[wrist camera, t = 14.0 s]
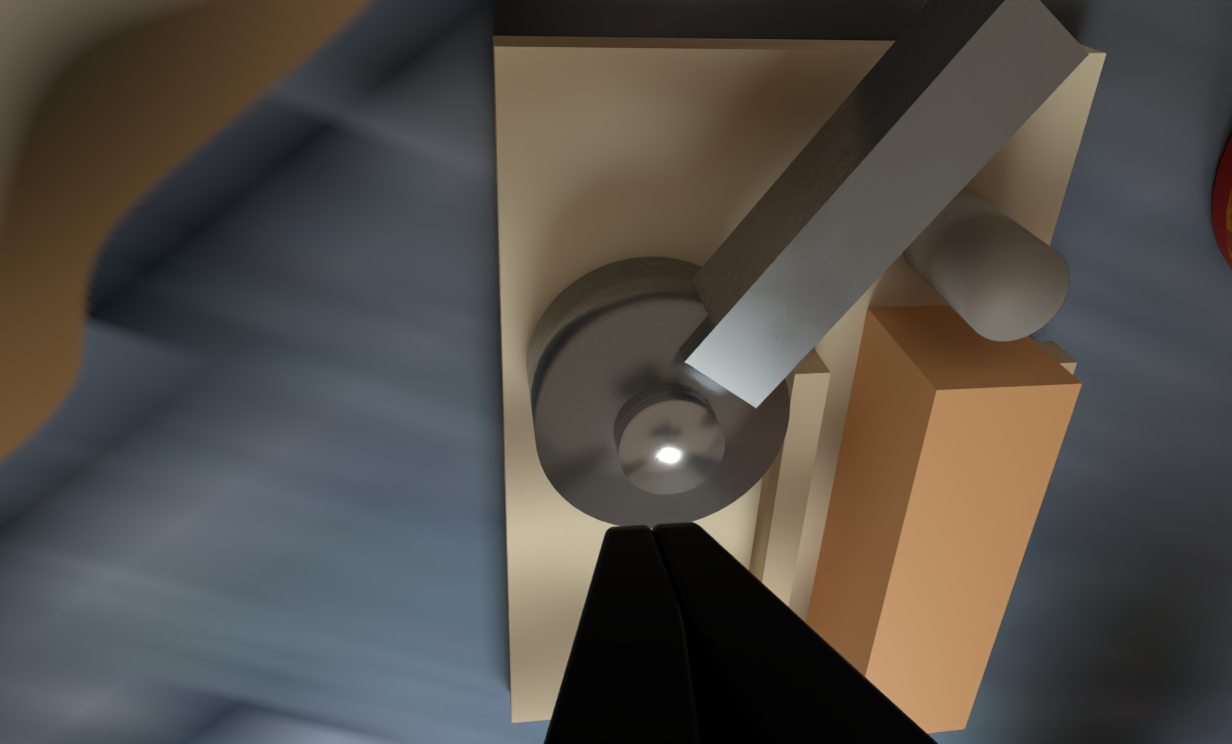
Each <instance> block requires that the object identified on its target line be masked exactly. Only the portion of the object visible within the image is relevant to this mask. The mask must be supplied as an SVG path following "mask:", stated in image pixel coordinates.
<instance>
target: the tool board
mask: <svg viewBox="0 0 1232 744" xmlns="http://www.w3.org/2000/svg"><path fill="white" fill-rule="evenodd" d="M894 42H895V41H868V40H791V39H714V38H637V37H560V36H493V66H494V104H495V141H496V179H497V216H498V254H499V292H500V329H501V367H502V404H503V442H504V479H505V517H506V555H507V592H508V630H509V667H510V699H511V716H512V723H517V722H528V721H539V720H550V719H551V717H552V713H553V710H554V707H555V703H556V700H557V696H558V693H559V689H560V686H561V683H562V679H563V676H564V672H565V669H566V665H567V662H568V659H569V655H570V652H571V648H572V645H573V641H574V638H575V635H576V631H577V628H578V624H579V621H580V617H581V614H582V610H583V607H584V604H585V600H586V597H587V593H588V590H589V586H590V583H591V580H592V576H593V573H594V569H595V566H596V562H597V559H598V555H599V552H600V549H601V545H602V542H603V538H604V535H605V532H606V531H607V529H609V528H610V527H615V526H618V525H613V524H610V523H606V522H603V521H600V520H598V519H595V518H593V517H591V516H589V515H586V514H585V513H583V512H581V511H580V510H578V509H577V508H575V507H573V506H572V505H571V504H570V503H569V502H567V501H566V500H565V499H564V498H563V497H562V496H561V495H560V494H559V493H558V492H557V491H556V490H555V489H554V487H553V486H552V484H551V483H550V481H549V480H548V478H547V477H546V475H545V473H544V471H543V469H542V466H541V464H540V461H539V457H538V454H537V450H536V442H535V434H534V426H533V417H532V409H531V401H530V393H529V385H528V376H527V356H528V351H529V346H530V342H531V339H532V336H533V333H534V330H535V328H536V326H537V324H538V322H539V320H540V318H541V317H542V315H543V314H544V312H545V311H546V309H547V308H548V307H549V305H550V304H551V303H552V302H553V301H554V300H555V298H556V297H557V296H558V295H559V294H560V293H561V292H562V291H563V290H565V289H566V288H567V287H568V286H569V285H570V284H572V283H573V282H575V281H576V280H578V279H579V278H581V277H582V276H584V275H585V274H587V273H589V272H591V271H593V270H595V269H597V268H599V267H602V266H605V265H607V264H610V263H613V262H616V261H621V260H625V259H629V258H638V257H667V258H674V259H679V260H683V261H686V262H690V263H693V264H695V265H698V266H700V267H703V266H704V264H705V263H706V262H707V261H708V260H709V259H710V257H711V256H712V255H713V254H714V253H715V252H716V250H717V249H718V248H719V247H720V246H721V245H722V243H723V242H724V241H725V240H726V239H727V238H728V236H729V235H730V234H731V233H732V232H733V230H734V229H735V228H736V227H737V226H738V225H739V223H740V222H741V221H742V220H743V219H744V218H745V216H746V215H747V214H748V213H749V212H750V211H751V209H752V208H753V207H754V206H755V205H756V204H757V202H758V201H759V200H760V199H761V198H762V197H763V195H764V194H765V193H766V192H767V191H768V190H769V188H770V187H771V186H772V185H773V184H774V183H775V181H776V180H777V179H778V178H779V177H780V175H781V174H782V173H783V172H784V171H785V170H786V168H787V167H788V166H789V165H790V164H791V163H792V161H793V160H794V159H795V158H796V157H797V156H798V154H799V153H800V152H801V151H802V150H803V149H804V147H805V146H806V145H807V144H808V143H809V142H810V140H811V139H812V138H813V137H814V136H815V135H816V133H817V132H818V131H819V130H820V129H821V128H822V126H823V125H824V124H825V123H826V122H827V120H828V119H829V118H830V117H831V116H832V115H833V113H834V112H835V111H836V110H837V109H838V108H839V106H840V105H841V104H842V103H843V102H844V101H845V99H846V98H847V97H848V96H849V95H850V94H851V92H852V91H853V90H854V89H855V88H856V87H857V85H858V84H859V83H860V82H861V81H862V80H863V78H864V77H865V76H866V75H867V74H868V73H869V71H870V70H871V69H872V68H873V67H874V65H875V64H876V63H877V62H878V61H879V60H880V58H881V57H882V56H883V55H884V54H885V53H886V51H887V50H888V49H889V48H890V47H891V46H892V44H893V43H894ZM1080 45H1081V44H1080ZM1081 46H1082V47H1083V48H1084V49H1085V50H1086V52H1087V53H1088V54H1089V55H1088V56H1087V57H1086V58H1085V59H1084V60H1083V61H1082V62H1081V63H1080V64H1079V66H1078V67H1077V68H1076V69H1075V70H1074V71H1073V72H1072V73H1071V74H1070V75H1069V76H1068V77H1067V78H1066V79H1065V80H1064V81H1063V83H1062V84H1061V85H1060V86H1059V87H1058V88H1057V89H1056V90H1055V91H1054V92H1053V93H1052V94H1051V95H1050V96H1049V97H1048V98H1047V100H1046V101H1045V102H1044V103H1043V104H1042V105H1041V106H1040V107H1039V108H1038V109H1037V110H1036V111H1035V112H1034V113H1033V114H1032V115H1031V117H1030V118H1029V119H1028V120H1027V121H1026V122H1025V123H1024V124H1023V125H1022V126H1021V127H1020V128H1019V129H1018V130H1017V131H1016V133H1015V134H1014V135H1013V136H1012V137H1011V138H1010V139H1009V140H1008V141H1007V142H1006V143H1005V144H1004V145H1003V146H1002V147H1001V148H1000V150H999V151H998V152H997V153H996V154H995V155H994V156H993V157H992V158H991V159H990V160H989V161H988V162H987V163H986V164H985V165H984V167H983V168H982V169H981V170H980V171H979V172H978V173H977V174H976V175H975V176H974V177H973V178H972V179H971V180H970V181H969V183H968V184H967V185H966V186H965V187H964V188H963V189H962V190H961V191H960V192H959V193H958V194H957V195H956V196H955V197H954V198H953V200H952V201H951V202H950V203H949V204H948V205H947V206H946V207H945V208H944V209H943V210H942V211H941V212H940V213H939V214H938V215H937V217H936V218H935V219H934V220H933V221H932V222H931V223H930V224H929V225H928V226H927V227H926V228H925V229H924V230H923V231H922V233H921V234H920V235H919V236H918V237H917V238H916V239H915V240H914V241H913V242H912V243H911V244H910V245H909V246H908V247H907V248H906V250H905V251H904V252H903V253H902V254H901V255H900V256H899V257H898V258H897V259H896V260H895V261H894V262H893V263H892V264H891V265H890V267H889V268H888V269H887V270H886V271H885V272H884V273H883V274H882V275H881V276H880V277H879V278H878V279H877V280H876V281H875V283H874V284H873V285H872V286H871V287H870V288H869V289H868V290H867V291H866V292H865V293H864V294H863V295H862V296H861V297H860V298H859V300H858V301H857V302H856V303H855V304H854V305H853V306H852V307H851V308H850V309H849V310H848V311H847V312H846V313H845V314H844V315H843V317H842V318H841V319H840V320H839V321H838V322H837V323H836V324H835V325H834V326H833V327H832V328H831V329H830V330H829V331H828V332H827V334H826V335H825V336H824V337H823V338H822V339H821V340H820V341H819V342H818V343H817V344H816V345H815V346H814V347H813V348H812V350H811V351H810V352H809V353H808V354H807V355H806V356H805V357H804V358H803V359H802V360H801V361H800V362H799V363H798V364H797V365H796V367H795V368H794V369H793V370H792V371H791V372H790V373H789V374H788V375H787V376H786V377H785V379H786V383H787V387H788V390H789V399H790V416H789V423H788V428H787V433H786V436H785V439H784V441H783V444H782V447H781V449H780V451H779V453H778V455H777V457H776V458H775V460H774V462H773V463H772V465H771V466H770V468H769V469H768V470H767V472H766V473H765V474H764V475H763V476H762V478H761V479H760V480H759V481H758V482H757V483H756V484H755V485H754V486H753V487H752V488H751V489H750V490H749V491H748V492H747V493H745V494H744V495H743V496H741V497H740V498H739V499H737V500H736V501H735V502H733V503H732V504H730V505H728V506H727V507H725V508H723V509H721V510H720V511H718V512H716V513H713V514H711V515H709V516H707V517H705V518H702V519H699V520H696V521H693V522H694V523H696V524H698V525H699V526H701V527H702V528H703V529H704V530H705V531H706V532H707V533H708V534H710V535H711V536H712V537H713V538H714V539H715V540H716V541H717V542H718V543H719V544H721V545H722V546H723V547H724V548H725V549H726V550H727V551H728V552H729V553H730V554H731V555H733V556H734V557H735V558H736V559H737V560H738V561H739V562H740V563H741V564H742V565H743V566H745V567H746V568H747V569H748V570H749V571H750V572H751V573H752V574H753V575H754V576H755V577H757V578H758V579H759V580H760V581H761V582H762V583H763V584H764V585H765V586H766V587H768V588H769V589H770V590H771V591H772V592H773V593H774V594H775V595H776V596H777V597H778V598H780V599H781V600H782V601H783V602H784V603H785V604H786V605H787V606H788V607H789V608H790V609H792V610H793V611H794V612H795V613H796V614H797V615H798V616H799V617H800V618H801V619H802V620H804V621H805V622H806V620H807V615H808V610H809V605H810V600H811V595H812V589H813V584H814V579H815V574H816V569H817V564H818V559H819V553H820V548H821V543H822V538H823V533H824V528H825V523H826V518H827V512H828V507H829V502H830V497H831V492H832V487H833V482H834V476H835V471H836V466H837V461H838V456H839V451H840V446H841V441H842V435H843V430H844V425H845V420H846V415H847V410H848V405H849V399H850V394H851V389H852V384H853V379H854V374H855V369H856V364H857V358H858V353H859V348H860V343H861V338H862V333H863V328H864V322H865V317H866V312H867V308H879V307H911V306H943V305H950V306H951V307H952V308H953V309H954V310H955V311H956V312H957V313H958V314H959V315H960V316H961V317H962V318H963V319H964V320H965V321H966V322H967V323H968V324H969V325H970V326H971V327H972V328H973V329H974V330H975V331H976V332H977V333H978V334H980V335H981V336H983V337H985V338H987V339H990V340H994V341H1013V340H1017V339H1020V338H1024V337H1026V336H1028V335H1030V334H1032V333H1034V332H1036V331H1037V330H1039V329H1040V328H1042V327H1043V326H1044V325H1046V324H1047V323H1048V322H1049V321H1050V320H1051V319H1052V318H1053V317H1054V316H1055V314H1056V313H1057V312H1058V310H1059V309H1060V307H1061V306H1062V304H1063V302H1064V300H1065V298H1066V295H1067V293H1068V289H1069V282H1070V274H1069V269H1068V266H1067V263H1066V261H1065V260H1064V258H1063V257H1062V256H1061V255H1060V254H1059V253H1058V252H1057V251H1056V250H1054V249H1053V248H1051V247H1050V243H1051V240H1052V237H1053V233H1054V230H1055V226H1056V223H1057V220H1058V216H1059V213H1060V209H1061V206H1062V203H1063V199H1064V196H1065V192H1066V189H1067V186H1068V182H1069V179H1070V175H1071V172H1072V169H1073V165H1074V162H1075V158H1076V155H1077V152H1078V148H1079V145H1080V141H1081V138H1082V135H1083V131H1084V128H1085V124H1086V121H1087V118H1088V114H1089V111H1090V108H1091V104H1092V101H1093V97H1094V94H1095V91H1096V87H1097V84H1098V80H1099V77H1100V74H1101V70H1102V67H1103V63H1104V60H1105V57H1106V53H1104V52H1101V51H1098V50H1095V49H1093V48H1090V47H1087V46H1084V45H1081ZM1036 343H1038V344H1039V345H1040V346H1041V347H1042V348H1043V349H1044V350H1045V351H1046V352H1048V353H1049V354H1050V355H1051V356H1052V357H1053V358H1054V359H1055V360H1056V361H1058V362H1059V363H1060V364H1061V365H1062V366H1063V367H1064V368H1065V369H1066V370H1068V371H1069V372H1070V373H1071V374H1072V375H1073V374H1074V371H1075V368H1076V365H1077V362H1076V361H1075V360H1074V359H1072V358H1071V357H1070V356H1069V355H1068V354H1067V353H1066V352H1064V351H1063V350H1062V349H1061V348H1060V347H1059V346H1058V345H1056V344H1055V343H1054V342H1053V341H1052V342H1036ZM651 530H652V528H651Z"/></svg>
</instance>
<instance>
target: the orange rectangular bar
mask: <svg viewBox="0 0 1232 744" xmlns="http://www.w3.org/2000/svg"><path fill="white" fill-rule="evenodd" d="M1081 386H1082V383H1081V382H1080V381H1079V380H1078V379H1076V378H1075V377H1074V376H1073V375H1072V374H1071V373H1070V372H1069V371H1068V370H1066V369H1065V368H1064V367H1063V366H1062V365H1061V364H1060V363H1059V362H1058V361H1056V360H1055V359H1054V358H1053V357H1052V356H1051V355H1050V354H1049V353H1048V352H1046V351H1045V350H1044V349H1043V348H1042V347H1041V346H1040V345H1039V344H1038V343H1036V342H1035V341H1034V340H1033V339H1032V338H1031V337H1030V336H1029V335H1028V336H1026V337H1024V338H1020V339H1017V340H1013V341H994V340H990V339H987V338H985V337H983V336H981V335H980V334H978V333H977V332H976V331H975V330H974V329H973V328H972V327H971V326H970V325H969V324H968V323H967V322H966V321H965V320H964V319H963V318H962V317H961V316H960V315H959V314H958V313H957V312H956V311H955V310H954V309H953V308H952V307H951V306H950V305H943V306H911V307H879V308H867V312H866V317H865V322H864V328H863V333H862V338H861V343H860V348H859V353H858V358H857V364H856V369H855V374H854V379H853V384H852V389H851V394H850V399H849V405H848V410H847V415H846V420H845V425H844V430H843V435H842V441H841V446H840V451H839V456H838V461H837V466H836V471H835V476H834V482H833V487H832V492H831V497H830V502H829V507H828V512H827V518H826V523H825V528H824V533H823V538H822V543H821V548H820V553H819V559H818V564H817V569H816V574H815V579H814V584H813V589H812V595H811V600H810V605H809V610H808V615H807V620H806V623H807V624H808V625H809V626H810V627H811V628H812V629H813V630H815V631H816V632H817V633H818V634H819V635H820V636H821V637H822V638H823V639H824V640H825V641H827V642H828V643H829V644H830V645H831V646H832V647H833V648H834V649H835V650H836V651H837V652H839V653H840V654H841V655H842V656H843V657H844V658H845V659H846V660H847V661H848V662H849V663H851V664H852V665H853V666H854V667H855V668H856V669H857V670H858V671H859V672H860V673H862V674H863V675H864V676H865V677H866V678H867V679H868V680H869V681H870V682H871V683H872V684H874V685H875V686H876V687H877V688H878V689H879V690H880V691H881V692H882V693H883V694H884V695H886V696H887V697H888V698H889V699H890V700H891V701H892V702H893V703H894V704H895V705H896V706H898V707H899V708H900V709H901V710H902V711H903V712H904V713H905V714H906V715H907V716H908V717H910V718H911V719H912V720H913V721H914V722H915V723H916V724H917V725H918V726H919V727H921V728H922V729H923V730H924V731H925V732H926V733H934V732H944V731H953V730H963V729H965V727H966V724H967V721H968V718H969V715H970V712H971V709H972V706H973V703H974V700H975V697H976V694H977V691H978V689H979V686H980V683H981V680H982V677H983V674H984V671H985V668H986V665H987V662H988V659H989V656H990V653H991V650H992V647H993V644H994V641H995V639H996V636H997V633H998V630H999V627H1000V624H1001V621H1002V618H1003V615H1004V612H1005V609H1006V606H1007V603H1008V600H1009V597H1010V594H1011V591H1012V589H1013V586H1014V583H1015V580H1016V577H1017V574H1018V571H1019V568H1020V565H1021V562H1022V559H1023V556H1024V553H1025V550H1026V547H1027V544H1028V541H1029V539H1030V536H1031V533H1032V530H1033V527H1034V524H1035V521H1036V518H1037V515H1038V512H1039V509H1040V506H1041V503H1042V500H1043V497H1044V494H1045V492H1046V489H1047V486H1048V483H1049V480H1050V477H1051V474H1052V471H1053V468H1054V465H1055V462H1056V459H1057V456H1058V453H1059V450H1060V447H1061V444H1062V442H1063V439H1064V436H1065V433H1066V430H1067V427H1068V424H1069V421H1070V418H1071V415H1072V412H1073V409H1074V406H1075V403H1076V400H1077V397H1078V394H1079V392H1080V389H1081Z"/></svg>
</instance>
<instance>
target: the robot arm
mask: <svg viewBox="0 0 1232 744" xmlns="http://www.w3.org/2000/svg"><path fill="white" fill-rule="evenodd" d="M544 744H938V743H937V742H936V741H935V740H934V739H933V738H931V737H930V736H929V735H928V734H927V733H926V732H925V731H924V730H923V729H922V728H921V727H919V726H918V725H917V724H916V723H915V722H914V721H913V720H912V719H911V718H910V717H908V716H907V715H906V714H905V713H904V712H903V711H902V710H901V709H900V708H899V707H898V706H896V705H895V704H894V703H893V702H892V701H891V700H890V699H889V698H888V697H887V696H886V695H884V694H883V693H882V692H881V691H880V690H879V689H878V688H877V687H876V686H875V685H874V684H872V683H871V682H870V681H869V680H868V679H867V678H866V677H865V676H864V675H863V674H862V673H860V672H859V671H858V670H857V669H856V668H855V667H854V666H853V665H852V664H851V663H849V662H848V661H847V660H846V659H845V658H844V657H843V656H842V655H841V654H840V653H839V652H837V651H836V650H835V649H834V648H833V647H832V646H831V645H830V644H829V643H828V642H827V641H825V640H824V639H823V638H822V637H821V636H820V635H819V634H818V633H817V632H816V631H815V630H813V629H812V628H811V627H810V626H809V625H808V624H807V623H806V622H805V621H804V620H802V619H801V618H800V617H799V616H798V615H797V614H796V613H795V612H794V611H793V610H792V609H790V608H789V607H788V606H787V605H786V604H785V603H784V602H783V601H782V600H781V599H780V598H778V597H777V596H776V595H775V594H774V593H773V592H772V591H771V590H770V589H769V588H768V587H766V586H765V585H764V584H763V583H762V582H761V581H760V580H759V579H758V578H757V577H755V576H754V575H753V574H752V573H751V572H750V571H749V570H748V569H747V568H746V567H745V566H743V565H742V564H741V563H740V562H739V561H738V560H737V559H736V558H735V557H734V556H733V555H731V554H730V553H729V552H728V551H727V550H726V549H725V548H724V547H723V546H722V545H721V544H719V543H718V542H717V541H716V540H715V539H714V538H713V537H712V536H711V535H710V534H708V533H707V532H706V531H705V530H704V529H703V528H702V527H701V526H699V525H698V524H696V523H694V522H678V523H662V524H657V525H655V526H654V527H653V528H652V530H651V528H650V527H648V526H646V525H631V526H615V527H610V528H609V529H607V531H606V532H605V535H604V538H603V542H602V545H601V549H600V552H599V555H598V559H597V562H596V566H595V569H594V573H593V576H592V580H591V583H590V586H589V590H588V593H587V597H586V600H585V604H584V607H583V610H582V614H581V617H580V621H579V624H578V628H577V631H576V635H575V638H574V641H573V645H572V648H571V652H570V655H569V659H568V662H567V665H566V669H565V672H564V676H563V679H562V683H561V686H560V689H559V693H558V696H557V700H556V703H555V707H554V710H553V713H552V717H551V720H550V724H549V727H548V731H547V734H546V738H545V741H544Z"/></svg>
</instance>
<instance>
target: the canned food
mask: <svg viewBox="0 0 1232 744" xmlns="http://www.w3.org/2000/svg"><path fill="white" fill-rule="evenodd" d="M1212 224H1213V228H1214V232H1215V236H1216V240H1217V244H1218V247H1219V249H1220V251H1221V252H1222V254H1223V256H1224V258H1225V259H1226V261H1227V263H1228V264H1229V266H1230V267H1231V269H1232V136H1231V138H1230V140H1229V143H1228V145H1227V148H1226V150H1225V153H1224V155H1223V158H1222V160H1221V163H1220V165H1219V168H1218V172H1217V177H1216V181H1215V186H1214V191H1213V196H1212Z"/></svg>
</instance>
